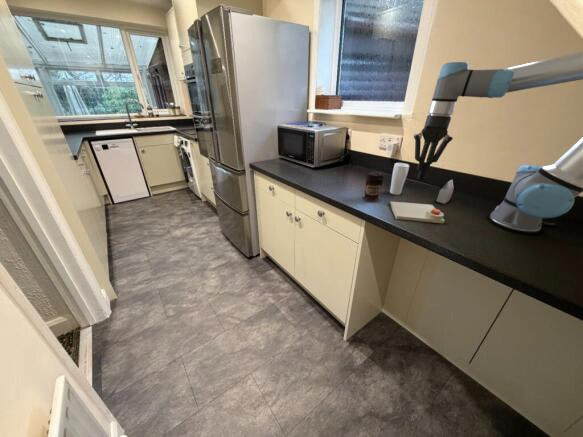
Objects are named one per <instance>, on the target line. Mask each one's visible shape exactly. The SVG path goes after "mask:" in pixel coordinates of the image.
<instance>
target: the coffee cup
mask: <svg viewBox="0 0 583 437" xmlns="http://www.w3.org/2000/svg"><path fill="white" fill-rule="evenodd" d="M385 179H386V176H385V173H383V172H380V171H370V172H368V173H367V174H366V175H365V189H364V198H363V199H364V200H365V201H367V202H373V203H374V202H378V201H379V195H380V192H381V190H382V186H383V183H384V180H385Z"/></svg>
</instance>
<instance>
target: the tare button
mask: <svg viewBox="0 0 583 437" xmlns="http://www.w3.org/2000/svg"><path fill="white" fill-rule="evenodd" d="M440 212H441V209H438V208H435V209H432V211H431V213H432V214H435V215H439V214H440Z"/></svg>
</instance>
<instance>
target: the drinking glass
mask: <svg viewBox="0 0 583 437" xmlns="http://www.w3.org/2000/svg"><path fill="white" fill-rule="evenodd" d="M409 169H410V164H408V163H404V162H396V163H395V162H394V165H393V168H392V175H391V182H390V189H389V193H390V194H391V195H394V196H400V195H401V194H402V191H403V189H404V188H403V187H404V185H405V182H406V180H407V176H408V173H409Z"/></svg>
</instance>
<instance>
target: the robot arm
mask: <svg viewBox="0 0 583 437" xmlns="http://www.w3.org/2000/svg"><path fill="white" fill-rule="evenodd" d="M469 67H470V63H469V62H467V61H450V62H445V63H444V64H443V65H442V66H441V69H440V71H439V75H438V78H437V79H436V84H435V88H434V91H433V95H432V99H431V102H430V105H429V109H428V115H427V116H426V119H425V123H424V127H423V128H422V130H421V132H418V133H415V134H413V139H414V142H415V143H414V160H415V161H416V162H418V165H417V167H416V170H417V176H416V179H418V181H424V178H425V174H426V172H429V170H430V167H431V165H432V164H433V163H437V162H438V160H439V159H440V158H441V156H442V154H443V153H444V151H445V149H446V147H447V146H448V144H449V143H450V142H451V141H453V139H454V137H453V136H450V135H449V134H448V132H449V130H448V128H449V126H450V124H451V120H452V115H453V114H454V111H455V108H456V105H457V102H458V99H459V97H463V98H465V97H467V98H468V97H469V98H489V99H494V98H495V99H498V98H500V99H501V98H503V97H504V96H506V94H507V93H513V92H519V91H524V90H530V89H536V88H540V87H547V86H553V85H559V84H564V83H570V82H576V81H581V80H583V50H582V51H578V52H574V53H569V54H565V55H561V56H556V57H551V58H547V59H543V60H537V61H534V62H530V63H529V62H528V63H525V64H521V65H515V66H511V67H507V68H499V69H498V68H497V69H495V68H493V69H469ZM422 138H423V140H424V141H423V146H422V145H421V144H422V142H421V141H422ZM440 141H441V142H440ZM439 143H440V144H439ZM438 145H439V146H438ZM421 146H422V148H421ZM437 147H438V148H437ZM421 149H422V150H421ZM582 193H583V137H581V138H580V139H578V141H577V142H576V143H575V144H573V146H572V147H570V148H569V149H568V150H567V151H566V152H565V153H564V154H562V156H560V157H559V158H558V159H557V161H555V162H554V163H552V164H549V165H543V166H540V165H531V164H523V165H521V166H520V167H519V168H518V169H517V171H516V173H515V175H514V178H513V180H512V182H511V184H510V186H509V188H508V190H507V192H506V195H505V196H504V199H503V201H502V202H501V203H500V204H499V205H496V207H495V208H494V210H493V211H492V212H491V213H490V215H489V216H488V219H489V220H490V222H491V223H493V224H494V225H496V226H498V227H500V228H502V229H506V230H508V231H511V232H515V233H520V234H528V235H533V234H538V233H539V232H540V231H541V229H542V226H543V225H545V226H550V227H551V226H553V227H555V226H556V223H555V222H546V221H543V219H553V218H557V217H561V216H563V215H564V214H567V213H568V212H569V211H570V210H571V209H572V207H573V206H574V204H575V200H576V199H575V198H577V197H578V196H580V195H581V194H582Z"/></svg>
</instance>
